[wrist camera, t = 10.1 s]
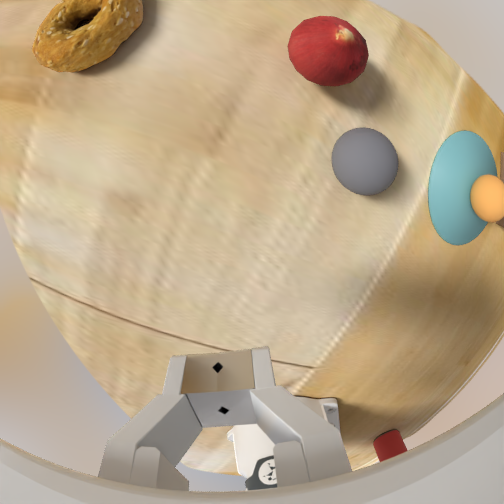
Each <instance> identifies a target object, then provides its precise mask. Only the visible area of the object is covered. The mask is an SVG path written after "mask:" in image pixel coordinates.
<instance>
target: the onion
mask: <svg viewBox="0 0 504 504" xmlns="http://www.w3.org/2000/svg"><path fill="white" fill-rule="evenodd" d="M288 51H289V58H290V60H291V62H292V63H293V65H294V67H295V69H296V70H297V71H298V72H299V73H300V74H301V75H302V76H303V77H305V78H306V79H307V80H309V81H311V82H314V83H316V84H319V85H322V86H340V85H344V84H347V83H351V82H352V81H354V80H355V79H356V78H357V77H358V76H359V75H360V74H361V73H362V72H364V69H365V67H366V63H367V60H368V56H369V55H368V49H367V44H366V40H365V39H364V38H363V37H362V35H361V34H360V33H359V32H358V31H357V29H356V28H354V27H353V26H352V25H351V24H350V23H348V22H347V21H344V20H342V19H339V18H337V17H332V16H318V17H314V18H310V19H306V20H304V21H303V22H301V23H300V24H299V25H298V26H297V27H296V28H295V29H294V30H293V31H292V33H291V37H290V40H289V43H288Z"/></svg>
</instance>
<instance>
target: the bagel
mask: <svg viewBox="0 0 504 504" xmlns="http://www.w3.org/2000/svg"><path fill="white" fill-rule="evenodd" d="M143 8H144V7H143V5H142V1H141V0H62V1H61V2H60V3H58V4H57V5H56V6H55V7H54V8H53V9H52V10H51V11H50V13H49V14H48V15H47V17H46V18H45V20H44V21H43V22H42V24H41V25H40V27H39V28H38V31H37V34H36V36H35V40H34V44H33V49H32V52H33V53H34V55H35V57H36V58H37V61H38V62H39V63H40V64H41V65H43V66H44V67H47V68H50V69H52V70H55V71H57V72H75V71H78V72H79V71H81V70H84V69H87V68H88V67H90V66H92V65H94V64H97V63H99V62H101V61H104V60H105V59H107V58H109V57H111V56H112V55H113V54H114V53H115V51H116V50H117V48H118V46H119V45H120V44H121V43H122V42H123V41H125V40H127V39H128V38H129V36H130V35H131V34H132V32H134V31H135V30H136V29H137V28H138V27H139V26H140V25H141V23H142V20H143ZM92 19H93V20H92ZM83 20H92V21H91V22H90V23H89V24H86V25H84V26H82V27H80V28H78V29H76V30H75V28H76V27H77V25H78V23H79V22H81V21H83Z"/></svg>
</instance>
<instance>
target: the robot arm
mask: <svg viewBox="0 0 504 504" xmlns="http://www.w3.org/2000/svg"><path fill="white" fill-rule="evenodd" d="M233 425H234V426H233ZM220 426H233V428H232V429H231V430H230V431H228V433H227V439H228V440H230V441H232V442H234V449H235V456H236V463H237V469H238V473H239V474H240V475H242V476H243V477H245V478H246V479H247V480H246V482H245V483H246V489H245V491H230V492H199V491H197V492H196V491H189V481H188V480H187V479H186V478H185V477H184V476H183V475H182V474H181V473H180V472H179V471H178V470H177V469H176V468H175V467H176V465H177V464H178V463H179V461H180V460H181V459H182V457H183V456H184V455H185V453H186V452H187V450H188V449H189V448H190V446H191V445H192V443H193V442H194V441H195V439H196V438H197V436H198V435H199V434H200V432H201V431H202V428H205V427H220ZM0 504H504V393H503V394H502V395H501V396H500V397H498V398H497V399H496V400H494V401H493V402H492V403H490V404H489V405H487V406H486V407H485V408H483V409H482V410H480V411H479V412H478V413H476V414H474V415H473V416H471V417H470V418H468V419H467V420H465V421H464V422H462V423H460V424H459V425H457V426H455V427H454V428H452V429H450V430H448V431H447V432H445V433H443V434H441V435H439V436H437V437H435V438H434V439H432V440H430V441H428V442H426V443H424V444H422V445H420V446H417V447H415V448H413V449H411V450H409V451H406V452H404V453H402V454H399V455H397V456H395V457H392V458H390V459H387V460H384V461H382V462H379V463H377V464H373V465H371V466H368V467H365V468H362V469H358V470H355V471H352V469H351V466H350V463H349V460H348V457H347V454H346V450H345V447H344V444H343V441H342V438H341V434H340V422H339V412H338V404H337V400H336V399H335V398H326V399H311V398H306V397H295V396H293V395H292V394H291V393H290V392H289V391H287V390H286V389H285V388H284V387H282V386H281V385H280V386H276V384H275V378H274V373H273V367H272V362H271V356H270V351H269V347H268V346H265V347H258V348H252V350H251V349H245V350H237V351H229V352H220V353H207V354H188V355H173V356H172V357H171V358H170V361H169V366H168V370H167V374H166V379H165V383H164V388H163V393H162V395H157V396H156V397H155V398H153V399H152V400H151V401H150V402H149V403H148V404H147V405H146V406H145V407H144V408H143V409H142V410H141V411H140V412H138V413H137V414H136V415H135V416H134V417H133V418H132V419H131V420H130V421H129V422H128V423H126V424H125V425H124V426H123V427H122V428H121V429H120V430H119V431H118V432H117V433H115V434H114V435H113V436H112V437H111V438H110V439H109V440H108V441H107V445H106V448H105V452H104V455H103V459H102V463H101V467H100V471H99V475H98V477H96V476H92V475H88V474H85V473H81V472H78V471H75V470H72V469H69V468H66V467H63V466H60V465H57V464H55V463H52V462H50V461H47V460H45V459H42V458H40V457H37V456H35V455H33V454H31V453H28V452H26V451H24V450H22V449H20V448H18V447H16V446H14V445H12V444H10V443H8V442H6V441H4V440H3V439H1V438H0Z"/></svg>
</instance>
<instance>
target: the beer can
mask: <svg viewBox="0 0 504 504" xmlns="http://www.w3.org/2000/svg"><path fill="white" fill-rule="evenodd" d="M373 445H374V448H375V450H376V453H377V456H378V458H379V461H380V462H382V461H384V460H387V459H390V458H392V457H395V456H397V455H399V454H402V453H404V452H406V451H407V448H406V446H405V444H404V442H403V439H402V437H401V435H400V433H399V431H398V430H391V431H388V432H386V433H384V434H382V435H380V436H379V437H377V438H376V439H375V441H374V443H373Z"/></svg>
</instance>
